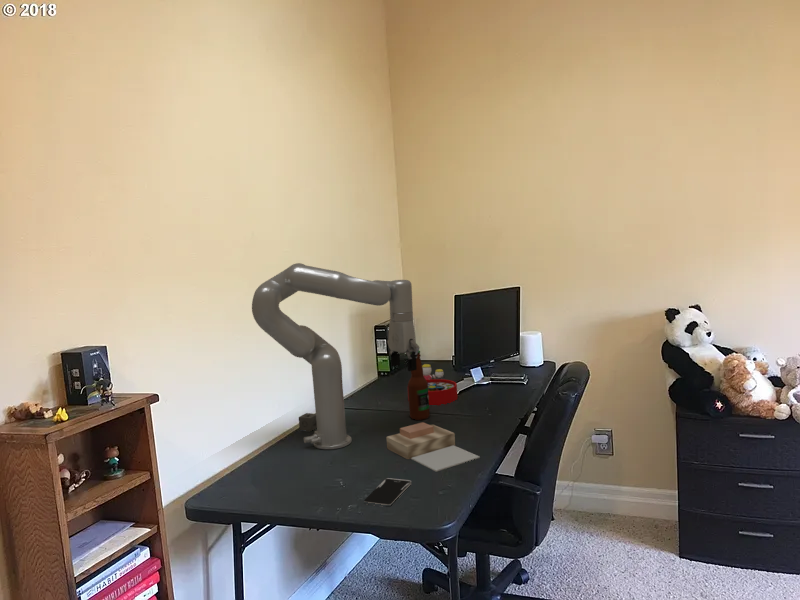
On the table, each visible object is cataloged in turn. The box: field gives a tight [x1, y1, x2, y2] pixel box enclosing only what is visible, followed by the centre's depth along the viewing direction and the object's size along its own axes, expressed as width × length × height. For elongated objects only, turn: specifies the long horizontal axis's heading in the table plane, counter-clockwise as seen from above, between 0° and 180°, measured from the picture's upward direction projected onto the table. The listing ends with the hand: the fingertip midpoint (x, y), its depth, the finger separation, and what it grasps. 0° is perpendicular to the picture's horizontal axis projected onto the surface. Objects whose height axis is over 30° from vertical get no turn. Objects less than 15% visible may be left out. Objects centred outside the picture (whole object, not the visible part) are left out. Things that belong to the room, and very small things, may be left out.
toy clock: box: [407, 378, 459, 406], centre depth 254 cm, size 20×6×20 cm
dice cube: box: [298, 412, 317, 432], centre depth 225 cm, size 5×5×5 cm
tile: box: [399, 421, 434, 439], centre depth 200 cm, size 9×6×2 cm, turn 122°
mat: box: [411, 445, 481, 473], centre depth 188 cm, size 16×13×1 cm
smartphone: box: [363, 477, 412, 505], centre depth 166 cm, size 8×1×15 cm
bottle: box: [407, 350, 431, 421], centre depth 229 cm, size 7×7×25 cm
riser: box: [385, 424, 456, 460], centre depth 199 cm, size 18×12×4 cm, turn 122°
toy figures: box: [422, 363, 446, 380], centre depth 280 cm, size 12×4×8 cm, turn 70°
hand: (403, 368), depth 209 cm, fingers open, 9 cm apart
